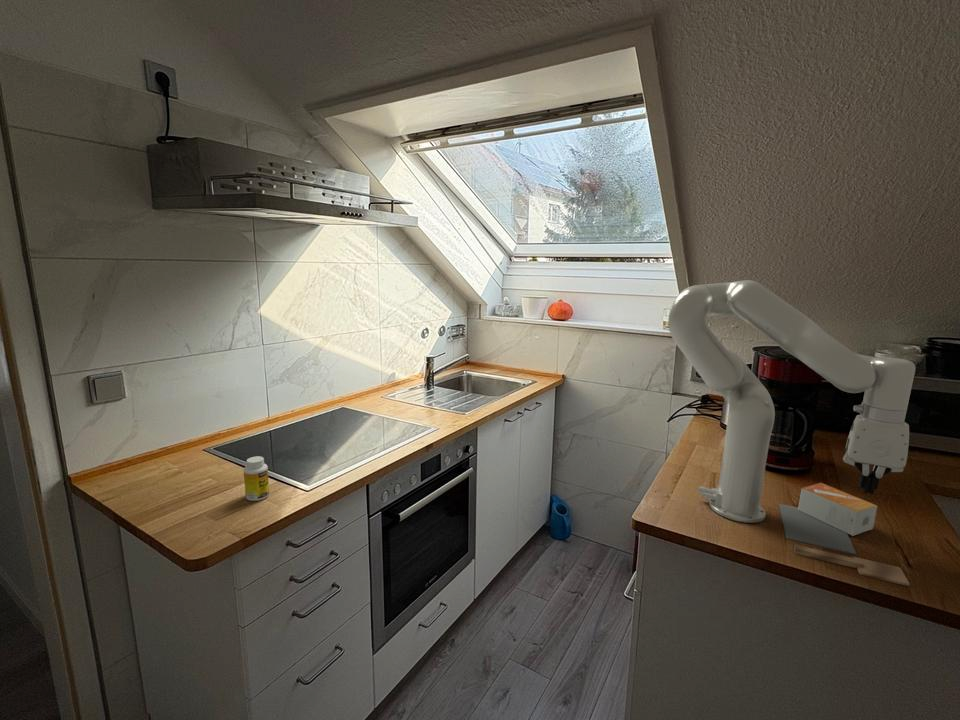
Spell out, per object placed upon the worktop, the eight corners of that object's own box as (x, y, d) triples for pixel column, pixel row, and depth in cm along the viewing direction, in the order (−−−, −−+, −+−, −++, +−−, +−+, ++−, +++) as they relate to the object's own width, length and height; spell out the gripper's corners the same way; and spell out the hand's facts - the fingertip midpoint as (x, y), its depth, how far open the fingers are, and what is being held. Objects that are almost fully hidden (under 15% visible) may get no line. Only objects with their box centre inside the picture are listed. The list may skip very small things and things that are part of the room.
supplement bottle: (261, 503, 121) (258, 464, 119) (240, 500, 122) (237, 462, 120) (274, 492, 127) (271, 455, 125) (254, 490, 127) (251, 454, 125)
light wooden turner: (795, 558, 104) (796, 553, 104) (792, 544, 109) (793, 539, 109) (909, 586, 96) (910, 581, 95) (899, 569, 101) (900, 564, 101)
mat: (786, 538, 111) (786, 537, 111) (778, 504, 127) (779, 503, 127) (856, 554, 106) (856, 553, 106) (839, 517, 122) (839, 516, 122)
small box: (857, 511, 111) (800, 487, 123) (853, 536, 112) (797, 510, 124) (878, 504, 114) (820, 482, 126) (873, 529, 116) (816, 504, 127)
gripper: (844, 413, 107) (830, 490, 110) (933, 424, 100) (914, 506, 104) (837, 404, 113) (824, 477, 117) (920, 414, 107) (903, 491, 111)
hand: (866, 490), depth 110 cm, fingers closed
